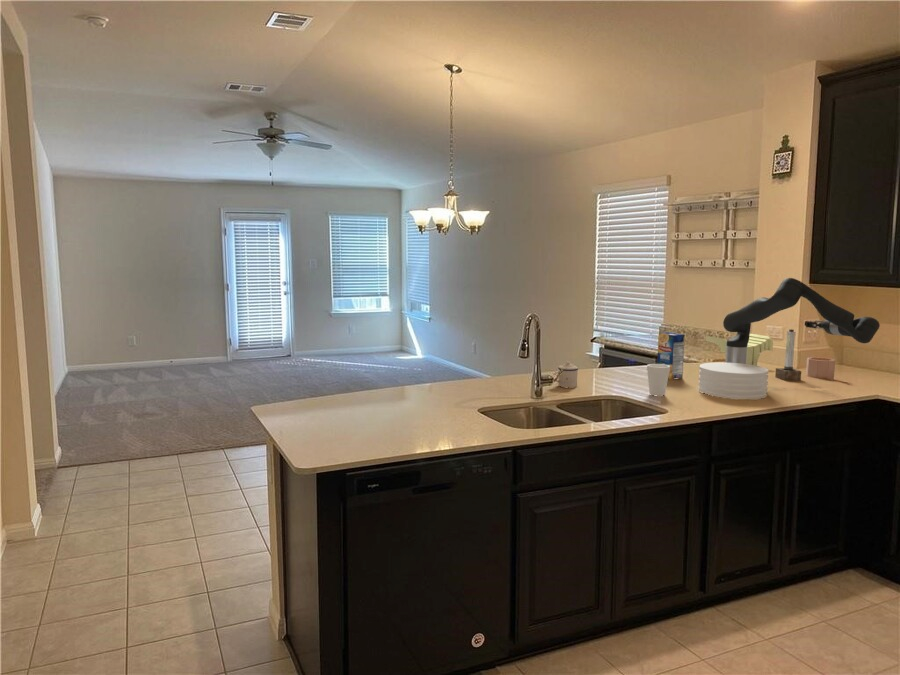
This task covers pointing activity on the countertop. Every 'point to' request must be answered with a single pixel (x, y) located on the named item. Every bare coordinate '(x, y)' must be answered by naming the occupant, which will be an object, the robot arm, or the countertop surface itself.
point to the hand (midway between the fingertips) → (814, 323)
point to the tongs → (789, 350)
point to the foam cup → (658, 378)
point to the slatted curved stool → (753, 348)
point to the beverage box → (671, 352)
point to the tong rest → (788, 374)
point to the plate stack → (733, 380)
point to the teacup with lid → (567, 375)
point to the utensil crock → (820, 367)
